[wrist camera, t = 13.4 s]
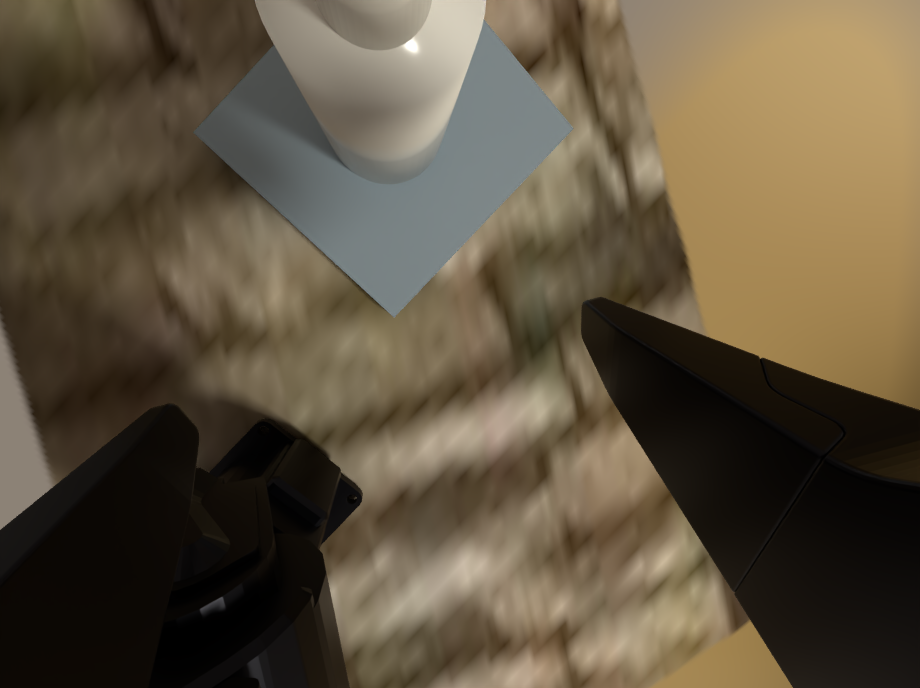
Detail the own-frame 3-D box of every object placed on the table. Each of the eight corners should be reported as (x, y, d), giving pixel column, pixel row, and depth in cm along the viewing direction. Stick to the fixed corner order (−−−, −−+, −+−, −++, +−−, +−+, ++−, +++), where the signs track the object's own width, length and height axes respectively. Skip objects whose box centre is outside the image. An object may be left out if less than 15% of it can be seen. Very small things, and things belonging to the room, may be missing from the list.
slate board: (394, 315, 20) (394, 317, 19) (204, 140, 18) (193, 132, 17) (564, 135, 20) (573, 128, 19) (395, -68, 17) (395, -88, 16)
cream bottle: (387, 209, 18) (365, 98, 6) (298, 117, 17) (52, -247, 5) (466, 128, 18) (607, -153, 6) (383, 30, 17) (344, -575, 5)
